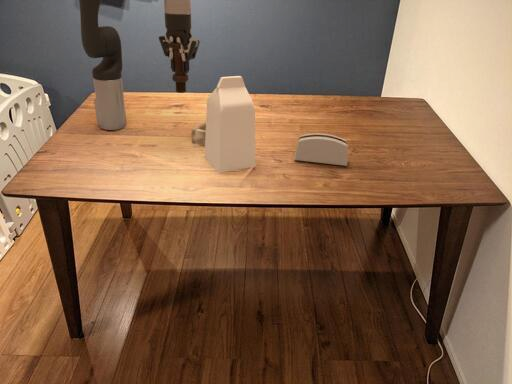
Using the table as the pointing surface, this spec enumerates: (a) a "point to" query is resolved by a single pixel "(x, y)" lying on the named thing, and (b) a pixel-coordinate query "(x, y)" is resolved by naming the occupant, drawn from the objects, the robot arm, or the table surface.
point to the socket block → (199, 134)
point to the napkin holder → (322, 149)
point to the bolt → (178, 68)
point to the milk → (230, 126)
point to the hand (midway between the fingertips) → (180, 72)
